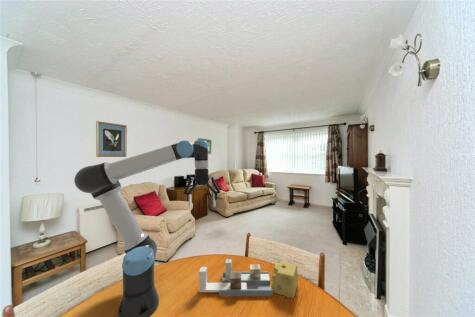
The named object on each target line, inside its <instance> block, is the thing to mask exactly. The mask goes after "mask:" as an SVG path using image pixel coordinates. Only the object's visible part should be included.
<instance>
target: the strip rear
mask: <svg viewBox="0 0 475 317" xmlns="http://www.w3.org/2000/svg"><path fill="white" fill-rule="evenodd" d="M224 265H225V269H224V270H225V271H224V272H226V280H230V276H231V273H232V272H233V260H232V258H225V264H224ZM260 275H261V279H260V280H270V281H271V279H270V274H269V273H268V274H260ZM241 280H251V278H250V274H241Z"/></svg>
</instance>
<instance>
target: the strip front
mask: <svg viewBox="0 0 475 317" xmlns="http://www.w3.org/2000/svg"><path fill="white" fill-rule="evenodd" d="M198 280H199V283H198V284H199V290H198V292H199V293H219V290H220V289H230V283H221V282H208V266H201V267H200V269H199V272H198ZM241 289H247V283H241Z"/></svg>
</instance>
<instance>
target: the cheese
mask: <svg viewBox="0 0 475 317" xmlns="http://www.w3.org/2000/svg"><path fill="white" fill-rule="evenodd" d="M298 279H299V278H298V265H296V264H293V263H289V262H283V261H280V260H277V261H276V263H275V265H274V266H273V273H272V276H271V281H272V283H271V289H272V293H274V294H277V295H282V296H285V297H287V298H291V299H294V298H295V296H296V292H297V287H298V284H299V282H298Z"/></svg>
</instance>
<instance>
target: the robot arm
mask: <svg viewBox="0 0 475 317" xmlns="http://www.w3.org/2000/svg"><path fill="white" fill-rule="evenodd" d="M208 144H209V143H208V141H206V140H195V141H194V143H193V144H192V142H190V141H189V140H187V139H186V140H181V141H179V142H176V143H173V144H170V145H166V146H164V147H159V148H156V149H154V150H150V151H147V152H144V153H141V154H138V155H134V156H130V157H127V158H123V159H121V160H118V161H114V162H112V163H111V162H103V163H99V164H93V165H88V166H84V167H82V168H81V169H79V170H78V171H77V172H76V174H75V176H74V179H73V180H74V185H75V188H77V189H78V190H79V191H80V192H83V193H86V194H91V196H92V198H93V199H94V200H97V201H99V202H100V204H101V205H102V207H103V209H104V210H105V212H106V214H107V216H108V217H109V219H110V222H112V224H113V226H114V227H115V229H116V231H117V233H118V235H119V236H120V238H121V240H122V242H123V243H124V246H123V250H122V251H123V252H124V253H125V255H124V256H123V259H122V264H121V268H122V297H121V300H120V303H119V306H118V308H117V317H150V316H152V315H153V314H154V313H155V312H156V311H157V309H158V307H159V305H160V296H159V293H158V291H157V288H156V285H155V262H156V256H157V252H158V247H157V243H156V241H155V240H154V239H153V238H151V237H150V235H149V234H148V232H144V231H143V230H142V227H141V226H140V224H139V222H138V221H137V219H136V217H135V215H134V214H133V212H132V210H131V208H130V206H129V205H128V203H127V201H126V199H125V198H124V195H123V193H122V192H121V189H122V185H121V182H120V180H123V179H125V178H129V177H132V176H134V175H137V174H140V173H143V172H146V171H149V170H152V169H154V168H158V167H161V166H163V165H166V164H169V163H172V162H175V161H179V160H181V159H194V177H192V176H190V177H189V178H188V182H187V185H186V186H185V189H184V191H183V195H186V201H187V202H188V208H191V207H192V206H193V204H192V198H193V197H192V196H193V195H192V194H191V193H192V192H193V191H194V190H195V188H196V187H197V186H205V185H206V186H207V188H208V189H209V190H210V191H211V192H212V194H213V196H212V201H213V202H212V203H213V206H212V207H216V204H217V203H216V201H217V200H218V194H220V193H221V190H220V187H219V186H218V184H217V182H216V180H215V176H209V148H208ZM209 180H210V182H212V185H213V186H214V187H213V186H212V185H211V183H210V182H209ZM193 181H195V183H194V184H193V185H192V183H193ZM191 185H192V186H191Z"/></svg>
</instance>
